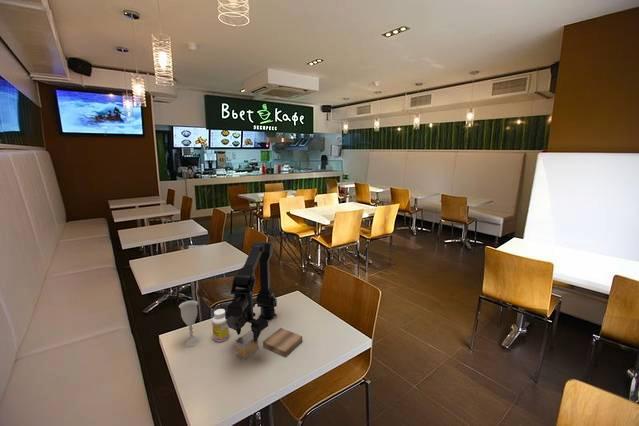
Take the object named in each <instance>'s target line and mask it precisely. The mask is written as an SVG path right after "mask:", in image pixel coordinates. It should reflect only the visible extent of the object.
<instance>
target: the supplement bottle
mask: <svg viewBox="0 0 639 426" xmlns="http://www.w3.org/2000/svg"><path fill="white" fill-rule="evenodd" d="M225 314H226V310H225V309H224V308H217V309H216V310H214V311H213V317H212V319H211V323H212V325H211V327H212V338H213V340H214V341H215V342H218V343H220V342H225V341H226V340H227V339H229V337H230V332H229V331H230V330H229V329H230V328H229V327H228V324H227V322H226V320H227V319H225Z"/></svg>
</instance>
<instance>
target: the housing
mask: <svg viewBox="0 0 639 426" xmlns="http://www.w3.org/2000/svg"><path fill="white" fill-rule="evenodd" d="M258 339H259V338H258ZM258 339H257V341H256V342H254V337H253V332H252V331H251V330H248V331H247V332H246V333H244V334H243V335H242V336H240V337H239V338H237V339H236V340H235V341H234V342H235V346H236V353H235V357H237V358H239V359H240V360H243V361H246V360H248V359H249V358H250V357H251V356H252V355H254V354H256V352H258V351H259V350H260V346H259V343H258V341H259V340H258Z"/></svg>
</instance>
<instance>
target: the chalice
mask: <svg viewBox="0 0 639 426" xmlns="http://www.w3.org/2000/svg"><path fill="white" fill-rule="evenodd" d="M198 303H199V302H198V301H197V300H185V301H184V302H181V303H180V304H179V305H178V308H179V309H180V317H181V319H182V321H183V323H185V324H186V326H189V327H188V330H189V332H188V334H189V336H188V338H186V342H185V346H186V347H193V346H196V345H197V344H198V343H199V339H198V338H197V337H196V336H195V335H193V333H194V331H193V325H194V324H195V322H196V319H197V317H198Z"/></svg>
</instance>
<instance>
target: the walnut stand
mask: <svg viewBox="0 0 639 426" xmlns="http://www.w3.org/2000/svg"><path fill="white" fill-rule="evenodd" d="M302 342H303V336H302V335H301V334H298V333H295V332H292V331H290V330H287V329H285V328H282V327H280V328H278V329H277V330H276V331H275V332H273V333H272V334H271V335H270V336H268V337H267V338H266V339H264V340H263V341H262V347H263V348H264V349H266V350H269V351H271V352H273V353H275V354H278V355H280V356H282V357H284V358H287V356H289V355H290V354H291V353H292V352H293V351H294V350H295V349H296V348H297V347H298V346H299V345H301V343H302Z"/></svg>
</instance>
